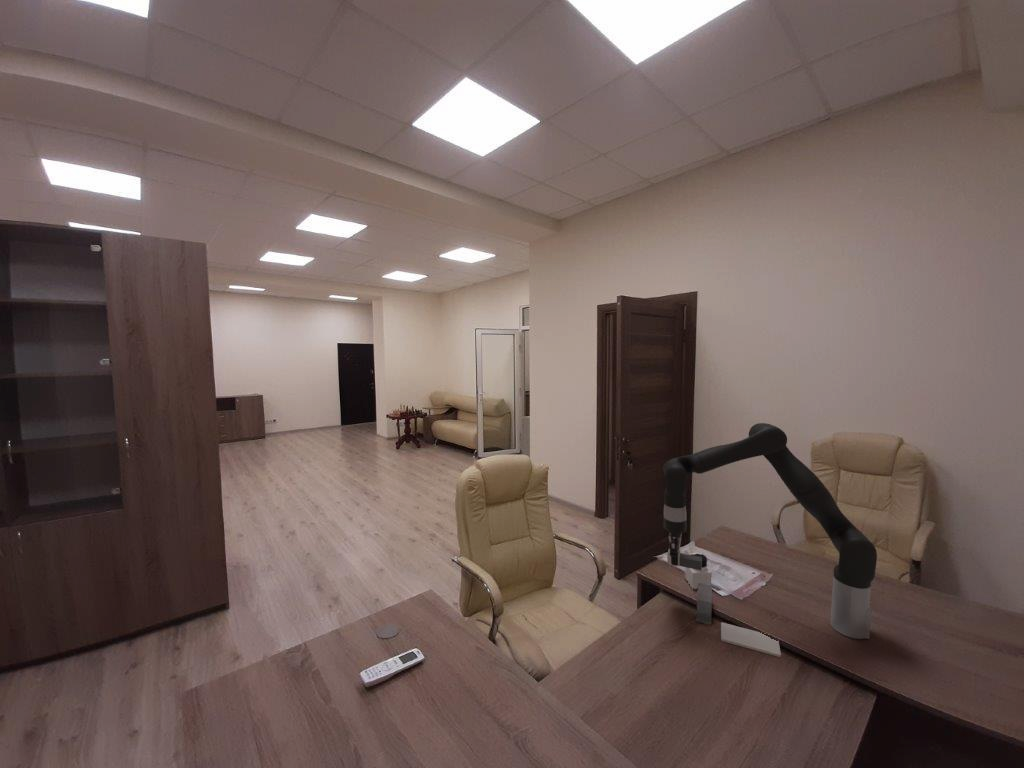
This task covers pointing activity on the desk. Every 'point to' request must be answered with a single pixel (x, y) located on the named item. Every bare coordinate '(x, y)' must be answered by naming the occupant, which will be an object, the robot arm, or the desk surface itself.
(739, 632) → the mat
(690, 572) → the medicine bottle
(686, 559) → the plug bar
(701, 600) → the shaft block
